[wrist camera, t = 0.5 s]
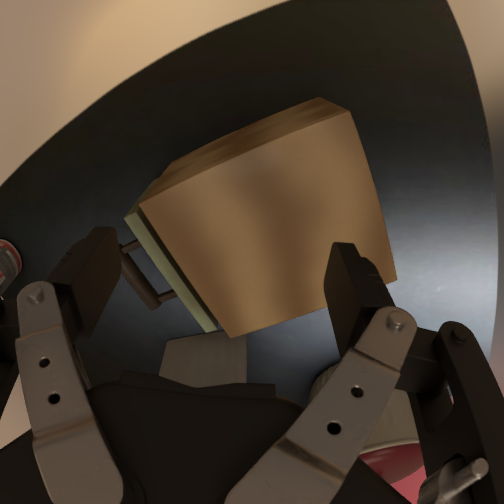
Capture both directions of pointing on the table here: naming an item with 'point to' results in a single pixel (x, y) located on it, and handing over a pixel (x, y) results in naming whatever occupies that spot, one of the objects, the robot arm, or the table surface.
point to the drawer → (164, 264)
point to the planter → (206, 360)
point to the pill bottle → (8, 264)
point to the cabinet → (270, 214)
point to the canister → (388, 436)
